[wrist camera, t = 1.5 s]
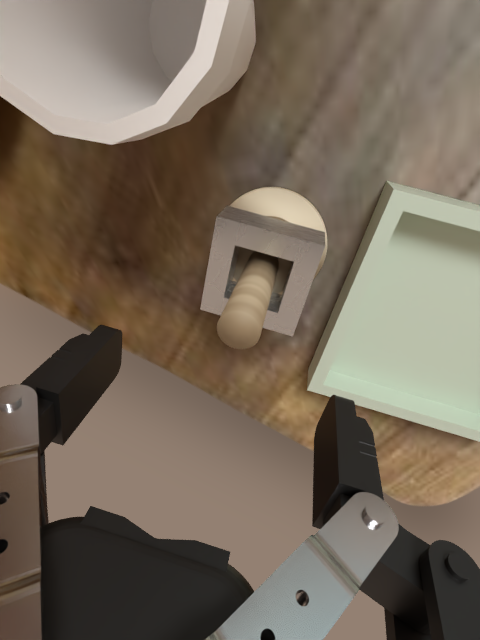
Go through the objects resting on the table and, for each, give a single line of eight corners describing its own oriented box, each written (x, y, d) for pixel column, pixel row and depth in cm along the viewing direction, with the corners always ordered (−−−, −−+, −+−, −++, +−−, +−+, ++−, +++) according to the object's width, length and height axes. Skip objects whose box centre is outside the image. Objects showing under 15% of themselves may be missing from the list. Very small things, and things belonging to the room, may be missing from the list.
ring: (227, 205, 21) (216, 216, 19) (324, 232, 21) (325, 246, 19) (210, 292, 24) (200, 309, 22) (295, 316, 24) (292, 336, 22)
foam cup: (102, 61, 22) (-111, 17, 11) (168, -134, 17) (-92, -542, 6) (227, 157, 24) (146, 199, 13) (319, 0, 19) (317, -149, 8)
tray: (386, 180, 22) (393, 189, 20) (645, 248, 22) (683, 265, 19) (308, 369, 31) (307, 390, 29) (491, 423, 30) (504, 449, 28)
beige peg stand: (228, 173, 24) (161, 220, 14) (344, 204, 24) (360, 275, 14) (209, 277, 28) (147, 371, 18) (307, 305, 28) (298, 417, 18)
